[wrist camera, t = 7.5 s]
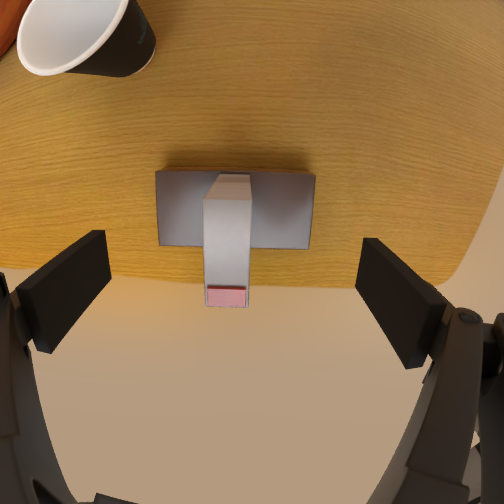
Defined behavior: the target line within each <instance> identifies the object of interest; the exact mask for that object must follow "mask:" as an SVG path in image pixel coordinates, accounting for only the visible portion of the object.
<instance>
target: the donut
mask: <svg viewBox="0 0 504 504" xmlns="http://www.w3.org/2000/svg"><path fill="white" fill-rule="evenodd" d="M31 2H32V0H0V57H1V56H2V55H3V54H4V53H5V52H6V51H7V50H8V48H9V47H10V45H11V44H12V43H13V41H14V40H15V38H16V37H17V36H18V31H19V27H20V23H21V21H22V18H23V16H24V14H25V12H26V10H27V8H28V6H29V5H30V3H31Z"/></svg>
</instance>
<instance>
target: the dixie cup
mask: <svg viewBox="0 0 504 504" xmlns="http://www.w3.org/2000/svg"><path fill="white" fill-rule="evenodd" d="M155 47H156V39H155V35H154V32H153V30H152V28H151V27H150V25H149V23H148V21H147V19H146V17H145V16H144V14H143V12H142V10H141V8H140V6H139V5H138V3H137V1H136V0H32V2H31V3H30V5H29V6H28V8H27V10H26V12H25V14H24V16H23V18H22V21H21V23H20V27H19V31H18V36H17V51H18V56H19V59H20V61H21V63H22V64H23V66H24V67H25V68H26V69H27V70H29V71H30V72H32V73H34V74H37V75H43V76H47V75H55V74H59V73H62V72H66V73H81V74H92V75H101V76H110V77H125V76H129V75H133V74H135V73H137V72H139V71H141V70H142V69H144V68H145V67H146V66H147V65H148V64H149V62H150V61H151V59H152V58H153V55H154V53H155Z"/></svg>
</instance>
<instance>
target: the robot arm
mask: <svg viewBox="0 0 504 504" xmlns="http://www.w3.org/2000/svg"><path fill="white" fill-rule="evenodd" d="M110 280H111V271H110V265H109V258H108V251H107V243H106V235H105V230H92V231H91V232H89V233H88V234H86V235H85V236H83V237H82V238H80V239H79V240H78V241H76V242H75V243H73V244H72V245H70V246H69V247H68V248H66V249H65V250H64V251H62V252H61V253H59V254H58V255H57V256H55V257H54V258H53V259H51V260H50V261H49V262H47V263H46V264H45V265H43V266H42V267H41V268H40V269H38V270H37V271H36V272H35V273H33V274H32V275H31V276H29V277H28V278H27V279H26V280H25V281H23V282H22V283H21V284H19V285H18V286H17V287H16V288H15V290H14V291H13V292H11V293H9V290H8V287H7V283H6V279H5V276H4V273H2V272H0V504H137V503H133V502H128V501H124V500H121V499H117V498H113V497H109V496H106V495H103V494H99V493H96V496H95V499H94V502H79V503H78V502H77V501H76V500H75V498H74V497H73V495H72V494H71V493H70V491H69V489H68V487H67V485H66V482H65V480H64V477H63V475H62V472H61V469H60V467H59V464H58V461H57V459H56V456H55V453H54V450H53V447H52V444H51V440H50V437H49V434H48V430H47V427H46V423H45V420H44V416H43V412H42V408H41V404H40V400H39V395H38V391H37V386H36V381H35V376H34V370H33V364H32V357H31V351H30V349H29V346H28V342H29V341H30V340H31V339H33V342H34V344H35V347H36V349H37V351H41V352H45V353H49V354H52V352H53V351H54V350H55V348H56V347H57V346H58V344H59V343H60V342H61V340H62V339H63V338H64V336H65V335H66V334H67V333H68V331H69V330H70V329H71V327H72V326H73V325H74V323H75V322H76V321H77V320H78V319H79V317H80V316H81V315H82V314H83V312H84V311H85V310H86V309H87V307H88V306H89V305H90V304H91V303H92V301H93V300H94V299H95V298H96V296H97V295H98V294H99V293H100V292H101V291H102V289H103V288H104V287H105V286H106V284H108V282H109V281H110ZM355 287H356V289H357V291H358V292H359V294H360V295H361V297H362V298H363V300H364V301H365V303H366V304H367V306H368V308H369V309H370V311H371V312H372V314H373V315H374V317H375V319H376V320H377V322H378V323H379V325H380V327H381V328H382V330H383V332H384V333H385V335H386V336H387V338H388V340H389V342H390V343H391V345H392V347H393V348H394V350H395V352H396V353H397V355H398V356H399V358H400V360H401V362H402V364H403V365H404V367H405V369H412V368H418V367H422V366H423V364H424V362H425V359H426V357H427V355H428V354H429V356H430V357H431V359H432V360H433V361H432V363H431V365H430V368H429V369H428V371H427V374H426V376H425V378H424V380H423V382H422V383H423V384H424V385H423V387H422V390H421V393H420V396H419V398H418V401H417V404H416V406H415V409H414V411H413V414H412V416H411V419H410V421H409V423H408V425H407V428H406V430H405V432H404V434H403V437H402V439H401V441H400V443H399V445H398V447H397V449H396V451H395V454H394V455H393V457H392V459H391V461H390V463H389V465H388V467H387V469H386V471H385V473H384V474H383V476H382V478H381V480H380V482H379V484H378V485H377V487H376V489H375V490H374V492H373V494H372V496H371V497H370V499H369V500H368V502H367V503H366V504H504V313H499V314H498V315H497V317H496V319H495V321H494V324H488V323H483V320H482V318H481V317H480V315H479V314H477V313H476V312H474V311H472V310H470V309H466V308H455V307H454V306H453V305H452V304H451V303H450V302H449V301H448V300H447V299H446V298H445V297H444V296H442V294H441V293H440V292H439V291H437V289H436V288H435V287H434V286H433V285H431V284H430V283H428V282H426V281H425V280H423V279H422V278H421V277H420V276H419V275H417V274H416V273H415V272H414V271H413V270H412V269H411V268H410V267H409V266H408V265H407V264H406V263H404V262H403V261H402V260H401V259H400V258H399V257H398V256H397V255H396V254H394V253H393V252H392V251H391V250H390V249H389V248H388V247H387V246H385V245H384V244H383V243H382V242H381V241H380V240H379V239H377V238H363V244H362V251H361V256H360V262H359V268H358V273H357V279H356V284H355ZM474 431H476V432H477V434H478V436H479V438H480V442H479V443H478V444H477V445H475V446H474V447H472V448H471V443H472V438H473V433H474ZM470 448H471V449H470Z"/></svg>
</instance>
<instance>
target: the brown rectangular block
mask: <svg viewBox="0 0 504 504" xmlns="http://www.w3.org/2000/svg"><path fill="white" fill-rule="evenodd" d="M155 174H156V204H157V223H158V239H159V246H193V247H203V198H204V197H205V195H206V194H207V192H208V191H209V189H210V188H211V186H212V185H213V183H214V182H215V180H216V179H217V178H218V176H219V175H220V174H241V175H250V183H251V193H252V222H251V248H268V249H304V250H308V249H309V243H310V234H311V224H312V214H313V203H314V191H315V179H316V175H315V174H313V173H311V172H310V171H308V170H296V169H279V168H256V167H165V168H162V169H160V170H158V171H156V172H155Z"/></svg>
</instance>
